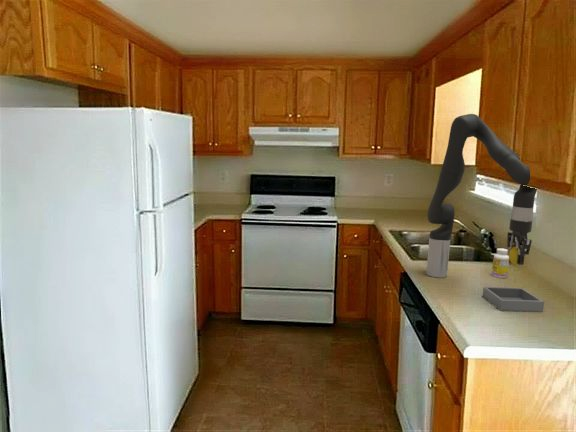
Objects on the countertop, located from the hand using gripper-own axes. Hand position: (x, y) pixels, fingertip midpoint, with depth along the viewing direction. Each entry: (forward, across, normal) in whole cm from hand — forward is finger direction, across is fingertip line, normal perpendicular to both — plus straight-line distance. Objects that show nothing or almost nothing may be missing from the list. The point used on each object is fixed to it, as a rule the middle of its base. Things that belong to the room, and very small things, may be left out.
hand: (516, 262), depth 185 cm
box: (+17, 0, 0) cm, 17 cm away
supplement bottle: (+17, -38, +13) cm, 44 cm away
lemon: (+2, 0, 0) cm, 2 cm away
